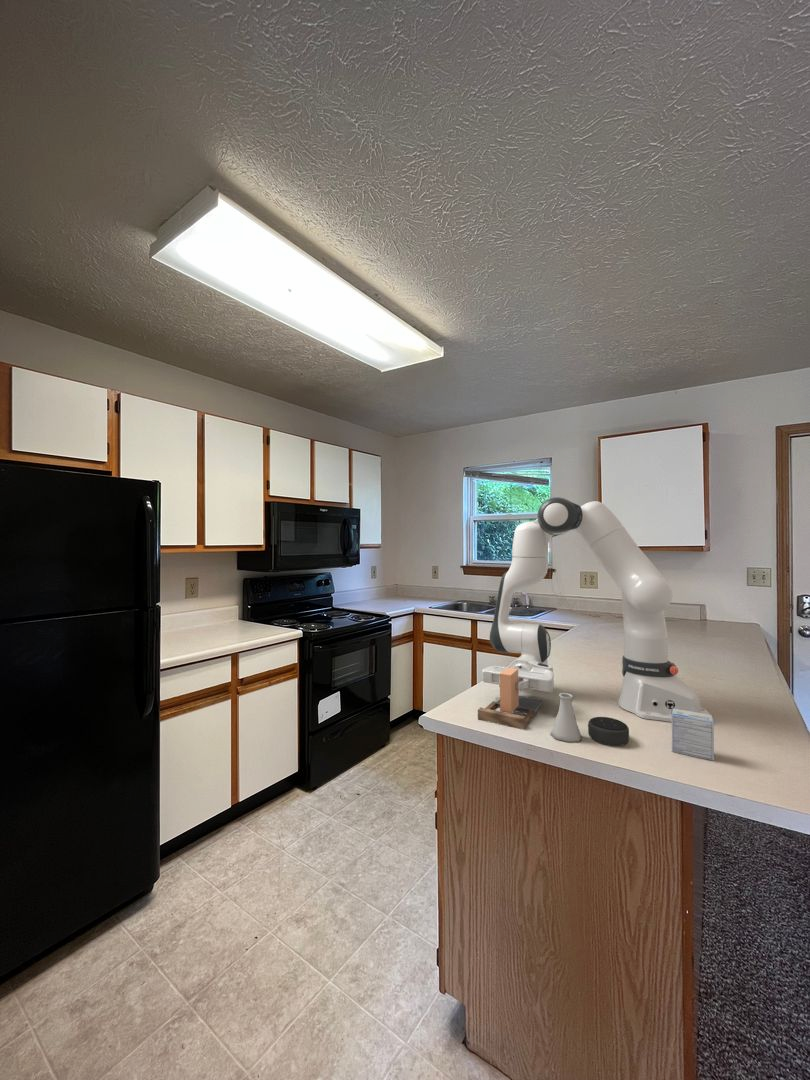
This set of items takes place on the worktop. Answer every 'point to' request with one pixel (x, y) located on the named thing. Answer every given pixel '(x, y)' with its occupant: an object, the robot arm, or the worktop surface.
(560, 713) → the flask
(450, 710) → the worktop surface
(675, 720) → the medicine box
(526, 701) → the mat
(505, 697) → the orange rectangular block
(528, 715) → the wooden square frame
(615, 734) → the smart speaker
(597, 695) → the worktop surface
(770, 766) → the worktop surface
